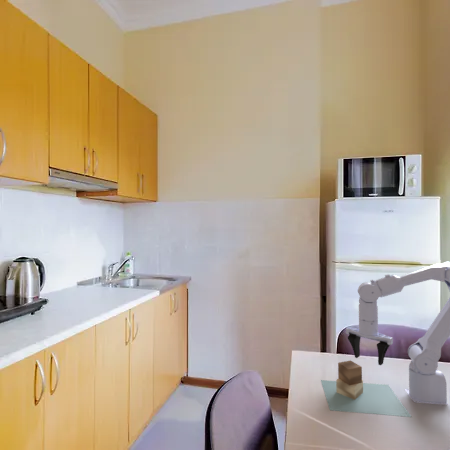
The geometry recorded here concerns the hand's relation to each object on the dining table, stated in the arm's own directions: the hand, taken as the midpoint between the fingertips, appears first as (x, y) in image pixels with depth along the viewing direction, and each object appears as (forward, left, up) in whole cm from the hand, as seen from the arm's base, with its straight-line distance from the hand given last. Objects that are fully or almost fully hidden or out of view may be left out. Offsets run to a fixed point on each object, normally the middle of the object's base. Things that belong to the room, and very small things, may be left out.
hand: (368, 360), depth 103 cm
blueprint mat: (+4, +6, -9) cm, 12 cm away
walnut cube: (+7, +4, -5) cm, 10 cm away
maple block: (+7, +4, -9) cm, 12 cm away
